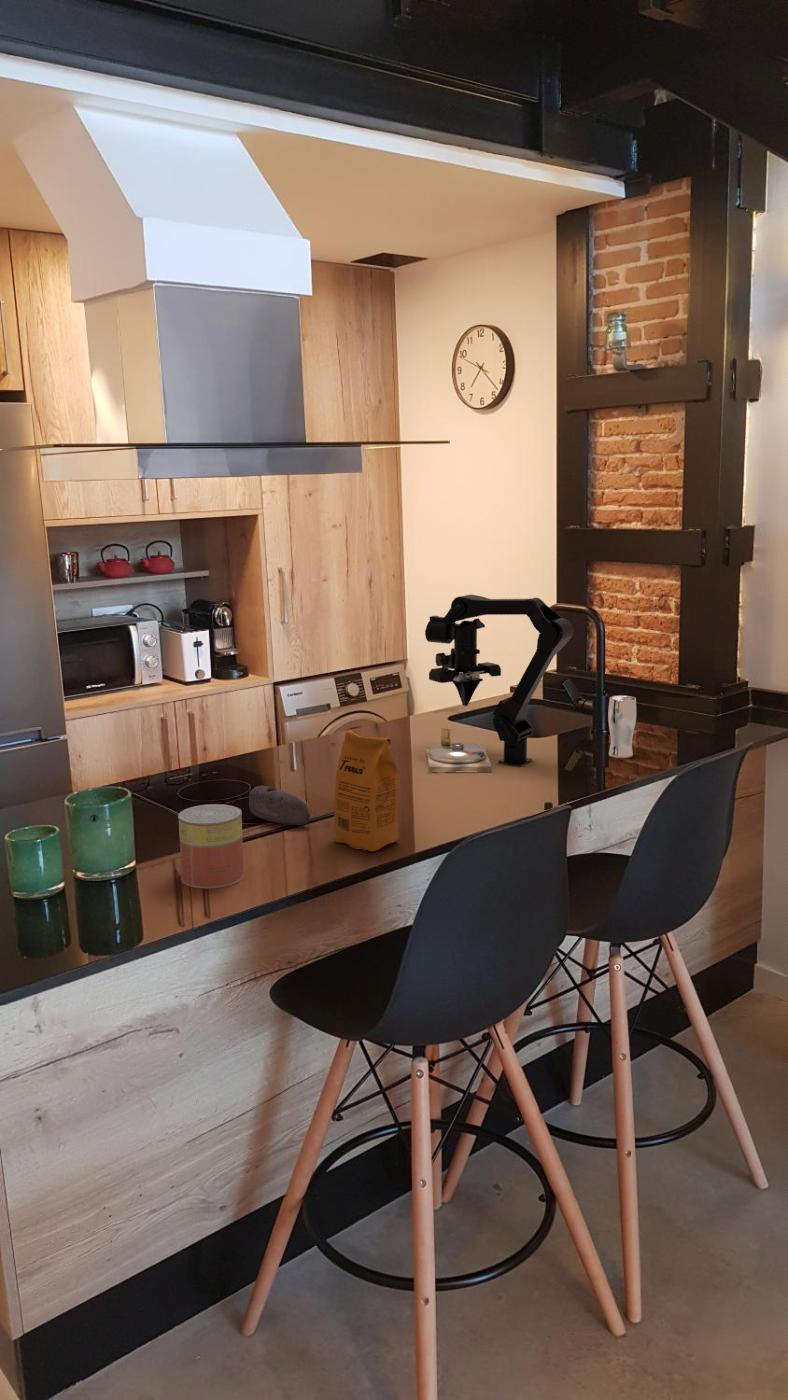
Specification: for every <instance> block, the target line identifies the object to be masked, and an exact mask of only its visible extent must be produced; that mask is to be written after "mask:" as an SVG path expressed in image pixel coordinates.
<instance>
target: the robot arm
mask: <svg viewBox="0 0 788 1400" xmlns="http://www.w3.org/2000/svg"><path fill="white" fill-rule="evenodd" d="M487 615H490V616H491V615H492V616H493V615H495V616H497V615H498V616H499V615H501V616H503V615H504V616H505V615H506V616H507V615H508V616H509V615H511V616H512V615H513V616H514V615H519V616H521V615H526V616H527V617H528V619H529V620H530V622H531V624H532V626H533V627H534V629H535V630H536V631H537V632H538V636H537V640H536V641H537V642H536V650H535V652H534V655H533V656H532V657H531V659H530V662H529V663H528V665H527V666H526V669H525V671H524V672H523V675H522V677H521V678H520V680H519V681H518V683H517V686H516V687H515V689H514V691H513V693H512V694H511V696H509V697H506V698H504V699H502V700H500V701H499V702H498V703H497V707H496V709H495V710H494V711H493V712H492V713H491V714H492V715H493V717H492V724H493V727H494V729H495V730H496V732H497V735H498V738H499V741H500V742H501V741H502V742H503V758H501V759H499V760H498V761H497V762H499V764H503V763H504V764H505V765H510V764H512V766H516V765H518V767H522V765H523V766H524V764H525V765H526V763H527V764H528V763H531V762H533V758H529V757H528V756H527V755H528V737H531V736H532V735H533V731H534V727H533V726H532V725H531V724H530V723H529V721H528V720H527V719H526V718H527V715H528V711H529V710H528V708H529V702H530V701H531V698H533V695H534V693H535V691H536V689H537V688H538V686H539V684H540V682H541V681H542V679H543V677H544V675H545V673H546V672H547V669H548V668H549V666H550V665H551V662H552V661H553V659H554V657H556V656H557V654H558V653H559V652H560V651H561V649H563V648H564V647H565V646H566V645H567V643H568V642H569V641H570V640H571V638H572V637H573V634H574V631H575V630H574V628H573V624H572V623H571V622H570V620H568V619H566V618H563V617H562V615H560V614H559V613H558V612H557V611H555V610H554V609H552V608H551V607H549V606H548V605H547V604H546V603H545V601H543V600H542V599H541V598H539V597H531V598H488V597H486V596H481V595H476V594H466V595H461V596H456V597H454V598H453V600H452V601H451V604H450V608H449V610H448V611H447V613H446V614H445V615H444V616H439V615H430V616H429V621H428V622H427V625H426V628H425V630H424V635H425V639H426V641H427V642H428V643H435V644H437V643H438V644H451V643H452V642H453V647H452V648H451V649H450V654H446V653H445V652H438V653H436V654H435V665H436V666H437V668H436V667H435V668H431V669H430V671H429V673H428V680H429V681H433V682H437V683H440V684H445V683H452V684H453V685H454V686H455V688H456V690H457V693H458V695H459V699H460V701H461V704H462V706H464V707H468V705H469V704H470V702H471V699H472V697H473V695H474V693H475V691H476V689H477V688H478V686H479V685H480V683H481V682H483V681H484V679H483V678H480V677H481V675H485V674H488V675H489V676H490V677H500V676H502V668H501V666H500V664H499V663H494V662H493V663H492V662H489V661H487V662H481V663H479V662H478V661H477V659H478V655H479V654H481V653H480V652H481V650H480V649H479V648H478V630H479V629H484V628H485V627H486V625H485V624H484V622H482V621H481V619H480V618H477V617H480V616H487ZM471 618H472V619H473V620H467V619H471ZM460 621H461V622H460ZM457 622H460V623H457ZM504 764H503V765H504Z"/></svg>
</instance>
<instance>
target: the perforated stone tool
mask: <svg viewBox="0 0 788 1400" xmlns="http://www.w3.org/2000/svg"><path fill="white" fill-rule="evenodd" d="M248 795H249V799H248V802H249V803H248V804H249V805H248V808H249V810H250V812H251V813H252V815H254V816H255V817H258V818H259V819H262V820H264V821H267V822H271V823H277V824H282V825H283V824H284V825H288V826H303V825H306V824H307V823H308V822H309V821H310V818H311V813H310V809H309V807H308V805H307V804H306V803H305V802H304V801H303V800H302V799H301V798H300V797H298V796H297V795H294V794H292V793H290V792H287V791H285V790H282V789H279V788H275V787H271V786H267V785H257V786H254V788H252V789H251V790H250V791H249V794H248Z"/></svg>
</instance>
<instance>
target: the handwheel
mask: <svg viewBox="0 0 788 1400" xmlns="http://www.w3.org/2000/svg"><path fill="white" fill-rule="evenodd" d="M429 749H430V758H432V759H433V760H436V761H440V762H445V763H471V762H477V761H481V760H483V759H485V758H486V754H487V747H485V746H483V745H481V744H477V743H473V742H464V741H463V742H460V741H453V742H452V741H451V728H449V727H443V728H441V729H440V743H437V744H434V745H432V746H431V747H429Z"/></svg>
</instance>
